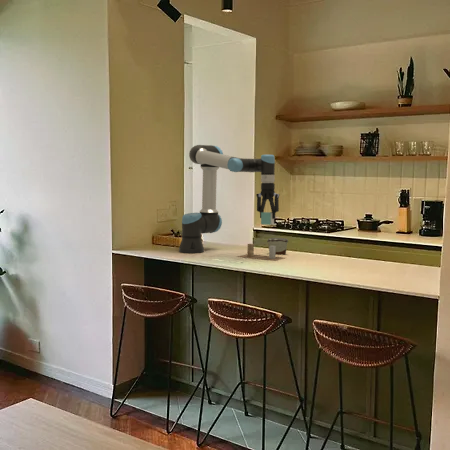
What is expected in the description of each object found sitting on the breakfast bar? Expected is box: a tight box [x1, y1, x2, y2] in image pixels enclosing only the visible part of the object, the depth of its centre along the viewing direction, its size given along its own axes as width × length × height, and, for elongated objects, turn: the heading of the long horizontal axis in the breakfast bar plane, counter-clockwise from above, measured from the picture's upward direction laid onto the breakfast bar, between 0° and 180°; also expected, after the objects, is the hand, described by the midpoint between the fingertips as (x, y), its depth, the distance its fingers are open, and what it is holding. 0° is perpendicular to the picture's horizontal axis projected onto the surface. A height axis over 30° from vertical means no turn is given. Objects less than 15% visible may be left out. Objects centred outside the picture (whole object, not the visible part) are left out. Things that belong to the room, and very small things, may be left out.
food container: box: [267, 237, 289, 256], centre depth 331 cm, size 12×6×10 cm, turn 84°
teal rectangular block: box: [260, 211, 272, 226], centre depth 313 cm, size 5×5×7 cm
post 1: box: [246, 243, 255, 257], centre depth 320 cm, size 3×3×7 cm
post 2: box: [268, 245, 276, 259], centre depth 313 cm, size 3×3×7 cm
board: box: [236, 254, 286, 262], centre depth 317 cm, size 25×14×1 cm, turn 57°
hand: (267, 224), depth 313 cm, fingers closed on teal rectangular block, 5 cm apart
